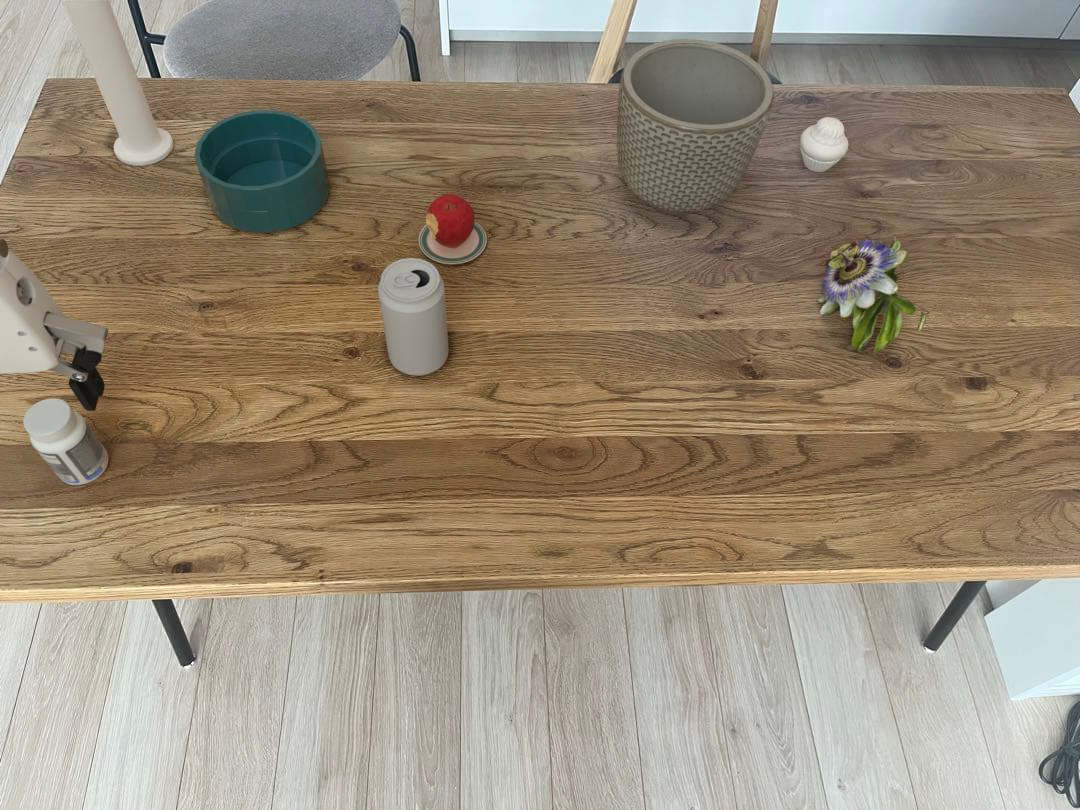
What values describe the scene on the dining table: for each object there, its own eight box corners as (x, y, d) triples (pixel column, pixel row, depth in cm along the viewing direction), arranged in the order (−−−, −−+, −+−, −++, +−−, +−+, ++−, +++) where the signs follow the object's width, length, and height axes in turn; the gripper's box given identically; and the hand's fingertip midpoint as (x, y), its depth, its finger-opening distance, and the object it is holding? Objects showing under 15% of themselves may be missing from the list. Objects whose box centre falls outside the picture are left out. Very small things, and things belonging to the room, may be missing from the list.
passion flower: (810, 334, 104) (814, 233, 101) (906, 332, 103) (914, 229, 99) (824, 360, 94) (829, 249, 90) (931, 359, 92) (941, 245, 88)
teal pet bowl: (203, 236, 102) (186, 190, 96) (219, 157, 110) (204, 110, 104) (326, 234, 103) (316, 188, 97) (333, 156, 111) (324, 109, 105)
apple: (470, 274, 100) (469, 233, 95) (407, 255, 101) (403, 213, 96) (496, 230, 104) (496, 187, 99) (435, 212, 106) (432, 169, 100)
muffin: (847, 164, 115) (866, 119, 109) (824, 186, 112) (842, 141, 106) (807, 143, 117) (824, 98, 111) (783, 164, 114) (799, 119, 108)
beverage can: (454, 373, 92) (450, 296, 82) (394, 385, 90) (383, 308, 81) (441, 328, 95) (436, 249, 85) (383, 339, 94) (371, 260, 84)
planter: (690, 262, 103) (719, 152, 90) (577, 194, 109) (589, 81, 96) (767, 191, 111) (804, 81, 98) (658, 131, 117) (679, 20, 104)
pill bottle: (104, 438, 85) (71, 387, 78) (113, 475, 83) (79, 427, 76) (53, 454, 84) (14, 404, 77) (61, 493, 81) (21, 445, 75)
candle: (114, 169, 108) (26, -29, 87) (116, 133, 111) (32, -64, 91) (173, 163, 109) (100, -35, 88) (173, 127, 113) (103, -69, 92)
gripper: (70, 215, 63) (148, 361, 77) (-181, 221, 62) (-56, 369, 76) (45, 291, 59) (132, 431, 73) (-226, 300, 57) (-85, 441, 71)
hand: (36, 399), depth 74 cm, fingers open, 9 cm apart
